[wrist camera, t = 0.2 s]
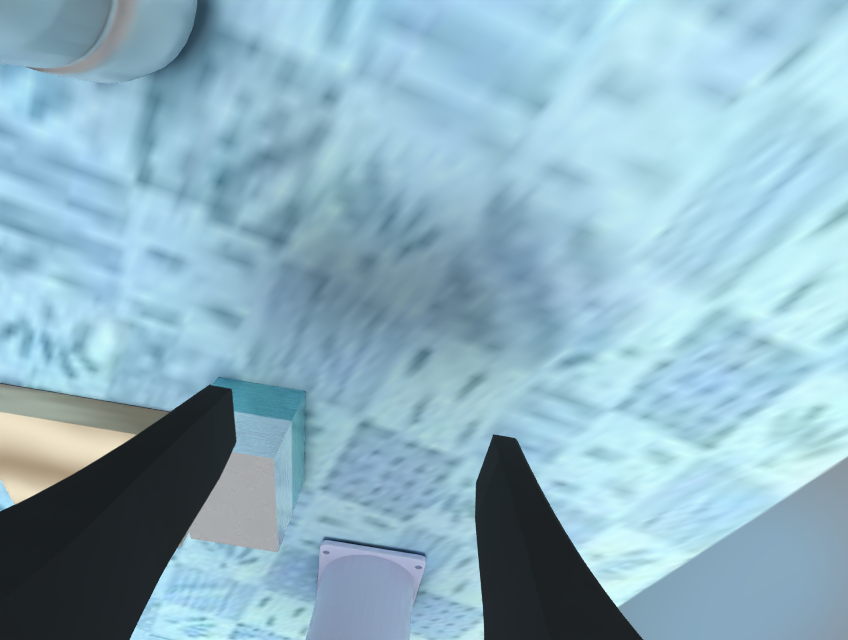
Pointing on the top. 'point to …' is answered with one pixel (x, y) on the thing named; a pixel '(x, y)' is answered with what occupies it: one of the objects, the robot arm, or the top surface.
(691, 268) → the top surface
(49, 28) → the plastic bottle
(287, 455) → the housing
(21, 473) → the stand
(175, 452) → the robot arm
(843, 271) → the top surface
